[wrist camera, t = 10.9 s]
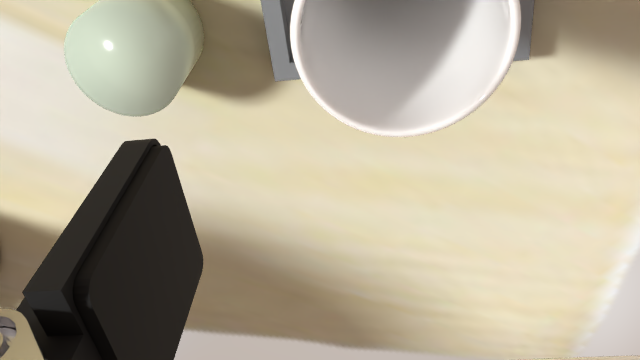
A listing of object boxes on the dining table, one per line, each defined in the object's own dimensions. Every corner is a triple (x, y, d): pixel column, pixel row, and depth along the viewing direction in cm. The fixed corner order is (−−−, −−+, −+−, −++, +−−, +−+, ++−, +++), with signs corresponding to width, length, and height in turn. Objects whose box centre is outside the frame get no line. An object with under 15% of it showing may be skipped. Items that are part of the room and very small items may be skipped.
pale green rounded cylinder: (214, 73, 34) (193, 111, 30) (120, 81, 35) (88, 120, 31) (189, -29, 31) (163, -1, 27) (86, -17, 32) (45, 12, 28)
